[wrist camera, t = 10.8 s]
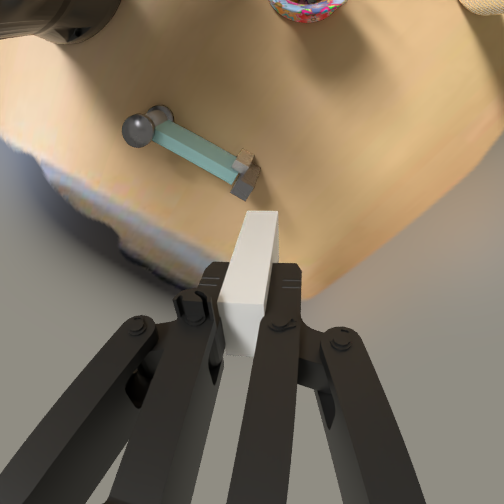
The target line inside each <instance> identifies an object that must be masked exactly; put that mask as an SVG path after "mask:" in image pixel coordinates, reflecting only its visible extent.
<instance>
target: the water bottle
mask: <svg viewBox="0 0 504 504" xmlns="http://www.w3.org/2000/svg"><path fill="white" fill-rule="evenodd" d="M459 1H460V3H461V4H462V5H463V6H464V7H465V8H466V9H467V10H469V11H470V12H472V13H474V14H477V15H481V16H490V15H501V14H504V0H459Z"/></svg>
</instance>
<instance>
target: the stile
mask: <svg viewBox="0 0 504 504" xmlns="http://www.w3.org/2000/svg"><path fill="white" fill-rule="evenodd" d="M253 157H254V155H253V154H252V153H250V152H248V151H246V150H245V149H243V148H242V150H241V151H240V153H239V155H238V156H237V158H236V160H235V161H234V163H233V165H232V166H231V168H232V169H234V170H235V171H237V172H239V173H240V174H239V176H238V178H237V180H236V182H235V184H234V186H233V188H232V190H231V192H230V193H232V194H234V195H235V196H237V197H239V198H240V199H242V200H244V201H246V199H247V198H248V196H249V195H250V193H251V192H252V190H253V189H254V187H255V184H256V181H257V178H258V175H259V172H260V169H261V168H260V167H259V166H257V165H255V164H254V163H252V160H253Z"/></svg>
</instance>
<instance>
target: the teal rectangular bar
mask: <svg viewBox="0 0 504 504" xmlns="http://www.w3.org/2000/svg"><path fill="white" fill-rule="evenodd" d="M145 115H147V116H149V117H150V118H151V119H152V121H153V122H154V125H155V136H154V138H153V140H152V141H154V142H156V143H157V144H159V145H161V146H163V147H165V148H167V149H169V150H170V151H172V152H174V153H176V154H178V155H179V156H181V157H183V158H185V159H187V160H188V161H190V162H192V163H194V164H196V165H197V166H199V167H201V168H203V169H205V170H206V171H208V172H210V173H212V174H213V175H215V176H217V177H219V178H220V179H222V180H224V181H226V182H227V183H229V184H232V183H233V181H234V180H235V178H236V176H237V175H238V173H239V172H237V171H235V170H234V169H232V168H231V166H232V165H233V163H234V161H235V160H236V158H237V157H235V156H234V155H232V154H230V153H228V152H227V151H225V150H223V149H221V148H220V147H218V146H216V145H214V144H213V143H211V142H209V141H207V140H205V139H204V138H202V137H200V136H198V135H196V134H194V133H193V132H191V131H189V130H187V129H185V128H183V127H181V126H180V125H178V124H176V123H174V122H172V121H170V120H168V119H167V116H166V114H165V113H164V112H163V111H161V110H154V111H151V112H149V113H147V114H145Z"/></svg>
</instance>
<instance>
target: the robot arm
mask: <svg viewBox="0 0 504 504" xmlns="http://www.w3.org/2000/svg"><path fill="white" fill-rule="evenodd" d="M120 1H121V0H0V39H6V38H13V37H19V36H27V35H35V36H38V37H40V38H43V39H45V40H47V41H50V42H52V43H56V44H72V43H78V42H82V41H84V40H87V39H89V38H90V37H92V36H94V35H95V34H96V33H98V32H99V31H100V30H101V29H102V28H103V27H104V26H105V25H106V24H107V23H108V22H109V20H110V19H111V18H112V16H113V15H114V13H115V12H116V10H117V8H118V6H119V4H120ZM278 262H279V230H278V211H247V213H246V216H245V219H244V222H243V225H242V228H241V231H240V234H239V237H238V240H237V243H236V246H235V249H234V252H233V255H232V258H231V261H230V262H212V263H211V264H210V265H209V266H208V267H207V268H206V269H205V271H204V274H203V276H202V279H201V281H200V283H199V286H198V288H191V289H187V290H184V291H181V292H180V293H178V294H177V295H176V296H175V297H174V298H173V303H174V306H175V310H176V313H177V317H178V318H177V320H175V321H172V322H166V323H160V324H155V322H154V321H153V319H152V318H150V317H148V316H143V315H140V316H134V317H132V318H130V319H128V320H127V321H126V322H124V323H123V324H122V325H121V327H120V328H119V329H118V330H117V331H116V332H115V333H114V335H113V336H112V337H111V338H110V339H109V340H108V341H107V343H106V344H105V345H104V346H103V347H102V348H101V349H100V351H99V352H98V353H97V354H96V355H95V356H94V358H93V359H92V360H91V361H90V362H89V363H88V365H87V366H86V367H85V368H84V369H83V371H82V372H81V373H80V374H79V375H78V377H77V378H76V379H75V380H74V381H73V382H72V384H71V385H70V386H69V387H68V389H67V390H66V391H65V392H64V393H63V394H62V396H61V397H60V398H59V399H58V401H57V402H56V403H55V404H54V406H53V407H52V408H51V409H50V411H49V412H48V413H47V414H46V416H45V417H44V418H43V419H42V421H41V422H40V423H39V424H38V426H37V427H36V428H35V429H34V431H33V432H32V433H31V434H30V436H29V437H28V438H27V440H26V441H25V442H24V443H23V445H22V446H21V447H20V449H19V450H18V451H17V453H16V454H15V455H14V457H13V458H12V459H11V460H10V462H9V463H8V464H7V466H6V467H5V469H4V470H3V471H2V473H1V474H0V504H85V503H86V502H87V500H88V499H89V497H90V496H91V494H92V493H93V491H94V490H95V488H96V487H97V486H98V484H99V483H100V481H101V480H102V478H103V477H104V475H105V474H106V472H107V471H108V469H109V468H110V467H111V465H112V464H113V462H114V461H115V459H116V458H117V456H118V455H119V453H120V452H121V450H122V449H123V448H124V446H125V444H126V443H127V442H128V444H127V447H126V449H125V452H124V455H123V458H122V460H121V463H120V466H119V469H118V472H117V474H116V478H115V481H114V483H113V486H112V489H111V492H110V495H109V497H108V499H107V501H106V502H105V503H103V504H190V503H191V500H192V496H193V492H194V487H195V483H196V479H197V475H198V471H199V467H200V463H201V458H202V455H203V450H204V446H205V442H206V438H207V434H208V430H209V426H210V421H211V417H212V413H213V409H214V405H215V401H216V397H217V392H218V389H219V385H220V380H221V376H222V372H223V368H224V361H223V353H224V349H226V354H227V355H233V356H246V357H254V359H253V365H252V371H251V376H250V382H249V388H248V393H247V399H246V404H245V410H244V415H243V421H242V426H241V431H240V436H239V442H238V447H237V452H236V457H235V462H234V467H233V473H232V478H231V483H230V488H229V493H228V498H227V503H226V504H286V501H287V492H288V484H289V474H290V464H291V454H292V442H293V432H294V419H295V406H296V393H297V384H299V385H303V386H305V387H309V388H312V389H314V392H315V395H316V399H317V403H318V407H319V410H320V414H321V418H322V422H323V426H324V429H325V433H326V437H327V441H328V445H329V449H330V452H331V456H332V460H333V464H334V468H335V472H336V476H337V480H338V484H339V488H340V492H341V496H342V500H343V504H426V502H425V499H424V496H423V493H422V490H421V487H420V484H419V482H418V479H417V476H416V473H415V470H414V468H413V465H412V462H411V459H410V457H409V454H408V451H407V448H406V446H405V443H404V440H403V438H402V435H401V433H400V430H399V427H398V425H397V422H396V420H395V417H394V415H393V412H392V410H391V407H390V405H389V402H388V400H387V397H386V395H385V393H384V390H383V388H382V385H381V383H380V381H379V378H378V376H377V374H376V371H375V369H374V366H373V364H372V362H371V360H370V357H369V355H368V353H367V351H366V348H365V346H364V344H363V342H362V339H361V337H360V336H359V335H358V333H357V332H355V331H354V330H352V329H350V328H346V327H334V328H331V329H328V330H327V331H326V332H325V333H323V332H320V331H316V330H314V329H311V328H310V327H308V326H307V325H306V324H305V323H304V322H303V321H302V319H301V314H300V312H301V278H302V271H301V269H300V268H299V266H298V265H297V263H278ZM128 440H129V441H128Z"/></svg>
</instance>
